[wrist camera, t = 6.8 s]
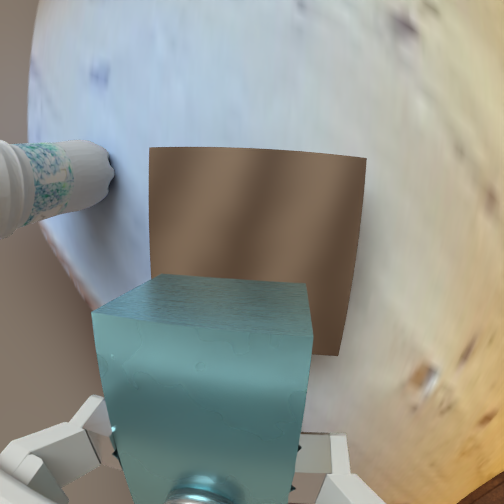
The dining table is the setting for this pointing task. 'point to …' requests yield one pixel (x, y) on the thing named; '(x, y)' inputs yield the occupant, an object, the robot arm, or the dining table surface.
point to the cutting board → (487, 492)
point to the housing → (206, 387)
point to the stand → (261, 222)
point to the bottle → (50, 180)
